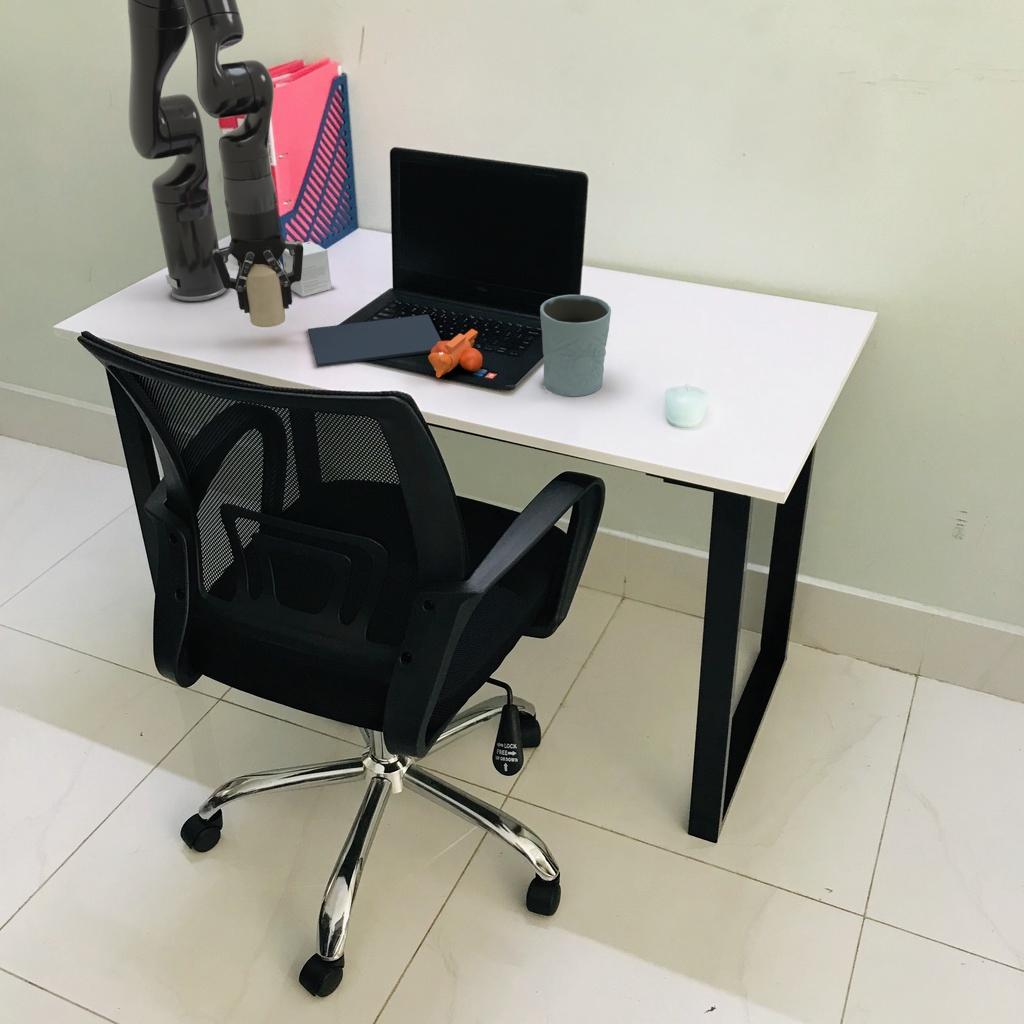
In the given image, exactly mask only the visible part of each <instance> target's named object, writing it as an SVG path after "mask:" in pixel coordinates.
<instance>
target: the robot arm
mask: <svg viewBox="0 0 1024 1024" xmlns="http://www.w3.org/2000/svg"><path fill="white" fill-rule="evenodd" d="M127 14H128V27H129V41H130V42H129V44H130V73H129V74H130V77H129V78H130V80H129V93H128V94H129V95H128V127H129V128H128V129H129V135H130V139H131V142H132V144H133V147H134V149H135V151H136V153H137V154H138V155H139V156H140V157H141V158H143V159H145V160H150V161H152V160H162V159H167V158H171V157H172V158H173V157H175V159H174V161H173V162H172V164H171V165H170V166H169V167H168V168H167V169H166V170H165V171H163V172H162V173H161V174H159V175H157V176H156V177H155V178H154V179H153V181H152V182H151V192H152V196H153V201H154V206H155V211H156V216H157V220H158V225H159V232H160V237H161V241H162V247H163V251H164V258H165V263H166V269H167V272H168V275H167V274H166V275H165V278H166V283H167V284H168V285H169V286H170V292H171V295H172V297H173V298H174V299H175V300H178V301H184V302H202V301H208V300H211V299H215V298H217V297H219V296H221V295H223V294H224V293H226V291H227V290H230V289H231V290H234V291H235V292H236V297H237V303H238V308H239V310H240V311H244V314H249V308H248V301H247V295H246V288H245V283H246V279H247V278H248V274H249V272H250V269H251V267H252V266H253V265H254V264H264V265H267V266H271V267H272V269H273V271H275V272H276V275H277V276H279V279H280V281H281V287H282V295H283V302H284V310H286V309H289V308H290V307H289V306H292V305H293V296H292V294H293V293H292V290H291V284H292V283H294V282H299V281H300V280H301V276H302V262H303V245H302V243H303V242H302V240H301V239H295V241H292V240H291V241H290V240H289V241H288V240H285V239H284V237H283V235H282V229H281V222H280V215H279V208H278V196H277V191H276V185H275V181H274V177H273V172H272V165H271V157H270V149H269V140H270V139H269V137H270V129H271V128H270V126H271V120H272V112H273V107H274V106H273V105H274V98H275V87H274V82H273V77H272V75H271V73H270V71H269V70H268V68H267V67H266V66H265V65H264V63H262V62H260V61H258V60H255V59H249V60H241V61H240V60H239V61H235V62H234V61H233V62H227V63H220V61H219V54H220V52H222V51H223V50H225V49H228V48H231V47H233V46H235V45H237V44H239V43H241V41H242V40H243V39H244V36H245V28H244V23H243V21H242V17H241V13H240V10H239V7H238V2H237V0H127ZM191 32H192V36H193V42H194V43H193V44H194V50H195V60H196V61H195V62H196V94H197V99H198V102H199V104H200V106H201V107H202V109H203V111H205V113H206V114H208V115H209V116H210V117H212V118H214V119H218V120H219V119H220V120H221V119H227V118H233V117H240V116H244V118H243V121H242V123H241V124H240V125H239V126H237V127H236V128H234V129H232V130H229V131H227V132H226V133H224V134H222V135H221V136H220V138H219V139H218V150H219V157H220V163H221V169H222V177H223V195H224V204H225V207H226V208H225V209H226V214H227V220H228V221H227V222H228V226H229V227H228V228H229V234H230V242H229V245H228V246H226V247H222V248H220V246H219V240H218V234H217V233H218V232H217V227H216V221H215V217H214V211H213V205H212V199H211V193H210V187H209V181H210V179H209V178H210V174H209V173H210V172H209V167H208V159H207V149H206V141H205V140H206V139H205V133H204V126H203V120H202V117H201V114H200V110H199V108H198V106H197V104H196V102H195V101H194V100H193V99H192V97H190V96H189V95H187V94H185V93H177V94H171V95H166V96H165V95H164V96H162V92H163V86H164V83H165V80H166V79H167V76H168V74H169V72H170V70H171V69H172V67H173V65H174V64H175V62H176V60H177V59H178V58H179V56H180V54H181V53H182V51H183V49H184V47H185V46H186V44H187V42H188V40H189V37H190V34H191ZM285 249H288V250H289V253H290V255H291V256H293V268H292V272H290V273H288V274H287V273H286V271H285V269H284V265H283V264H282V262H281V257H282V256H283V255H282V254H283V252H284V250H285ZM230 255H232V257H233V258H234V259H235V260H236V261H238V263H239V266H238V270H237V274H236V278H234V277H231V275H230V273H229V270H228V267H227V265H226V264H227V263H229V256H230Z"/></svg>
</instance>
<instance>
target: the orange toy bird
mask: <svg viewBox="0 0 1024 1024" xmlns="http://www.w3.org/2000/svg"><path fill="white" fill-rule="evenodd" d="M478 334H479V333H478V331H477V330H475V329H473V328H471V329H470V330H468V331H467V332H465V334H462V333H458V334H457V335H455V336H454V337H453V338H452V339H451V340H441V341H439V342H437V344H436V346H435V347H434V348H432V350H431V353H429V354H428V356H427V359H428V361H429V363H430V364H431V365H432V367H433V370H434V371H435V377H436V378H440V377H442V375H446V374H447V373H449V372H451V371H452V370H453V369H454V368H456V367H457V366H458V365H460V366H461V368H463V369H464V370H465V371H469V372H477V371H479V370H480V369H481V367H482V366H483V355H482V353H481V352H480V351H479V350H478V349H476V348H474V347H473V346H474V344H475V339H476V338H477V336H478Z"/></svg>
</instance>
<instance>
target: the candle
mask: <svg viewBox="0 0 1024 1024" xmlns="http://www.w3.org/2000/svg"><path fill="white" fill-rule="evenodd" d="M245 288H246V295H247V301H248V308H249V313H248V314H249V319H250V320H249V321H250V323H251V324H252V325H253V326H255V327H259V328H271V327H276V326H279V325H281V324H283V323H284V322H285V321H286V309H284V302H283V295H282V287H281V281H280V279H279V276H277V275H276V272H275V271H273V269H272V267H271V266H267V265H264V264H254V265H253V266H252V267H251V269H250V272H249V274H248V278H247V279H246V283H245Z"/></svg>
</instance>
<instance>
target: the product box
mask: <svg viewBox="0 0 1024 1024" xmlns="http://www.w3.org/2000/svg"><path fill="white" fill-rule="evenodd" d="M302 245H303V262H302V276H301V280H300V281H299V282H294V283H292V284H291V291H292V292H294V293H296V294H297V295H299V296H300V297H303V298H304V297H308V296H312V295H315V294H318V293H322V292H326V291H329V290H332V281H331V273H330V271H331V270H330V261H329V251H328V250H327V249H326V248H324V247H322V246H321V245H320V244H317V243H315V242H314V241H311V240H310V241H306V242H302ZM281 256H282V262H283V268H284V269H285V271H286V273H287V274H288V273H290V272H292V268H293V256H291V255H290V253H289V250H288V249H285V250H284V252H283V254H282V255H281Z"/></svg>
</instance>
